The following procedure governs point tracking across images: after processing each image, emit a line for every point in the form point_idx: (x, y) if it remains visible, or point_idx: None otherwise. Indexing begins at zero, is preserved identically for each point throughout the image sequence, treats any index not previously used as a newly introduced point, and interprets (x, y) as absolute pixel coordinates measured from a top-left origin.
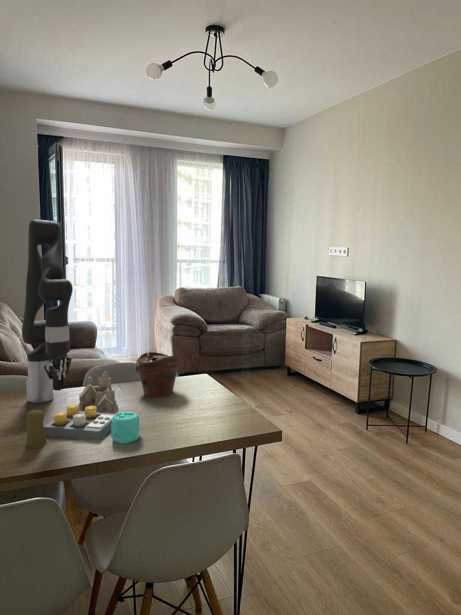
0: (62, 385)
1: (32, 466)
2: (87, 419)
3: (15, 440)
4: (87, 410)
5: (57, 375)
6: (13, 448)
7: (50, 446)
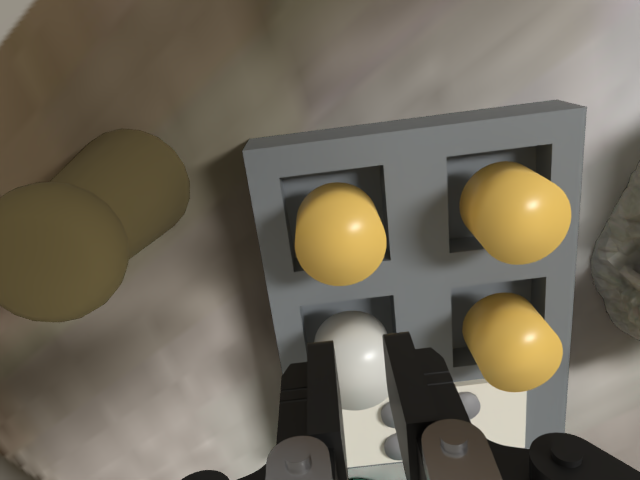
0: (393, 412)
1: None
2: (443, 334)
3: (112, 15)
4: (477, 355)
5: (425, 455)
6: (22, 99)
7: (144, 277)
